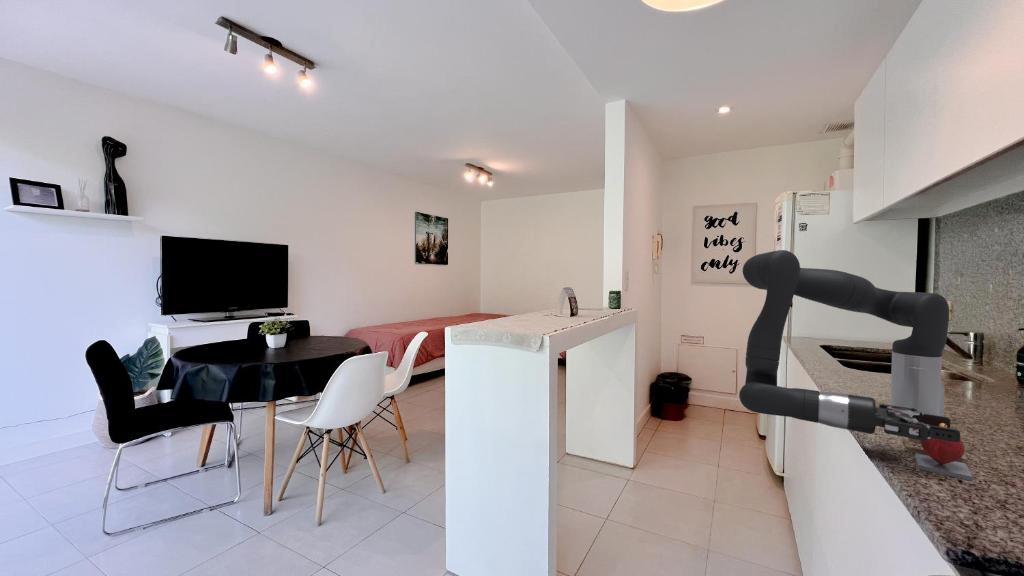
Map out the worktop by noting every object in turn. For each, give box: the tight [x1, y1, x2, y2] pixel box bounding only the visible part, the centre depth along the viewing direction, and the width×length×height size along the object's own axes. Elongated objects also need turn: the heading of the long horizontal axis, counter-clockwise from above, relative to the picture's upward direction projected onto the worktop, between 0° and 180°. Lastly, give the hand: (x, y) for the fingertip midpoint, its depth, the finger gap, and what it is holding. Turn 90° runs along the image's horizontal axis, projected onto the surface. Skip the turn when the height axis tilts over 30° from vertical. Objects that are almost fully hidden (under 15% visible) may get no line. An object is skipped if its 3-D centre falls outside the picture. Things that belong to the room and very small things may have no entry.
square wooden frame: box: [902, 437, 969, 465], centre depth 87 cm, size 9×9×1 cm
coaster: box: [914, 453, 974, 482], centre depth 79 cm, size 7×7×1 cm
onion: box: [920, 423, 965, 464], centre depth 79 cm, size 6×6×8 cm
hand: (954, 429), depth 78 cm, fingers open, 8 cm apart
